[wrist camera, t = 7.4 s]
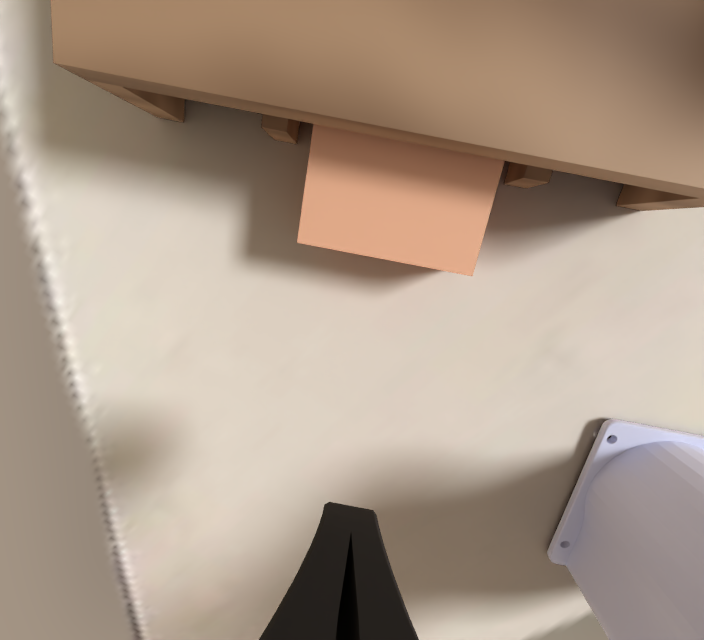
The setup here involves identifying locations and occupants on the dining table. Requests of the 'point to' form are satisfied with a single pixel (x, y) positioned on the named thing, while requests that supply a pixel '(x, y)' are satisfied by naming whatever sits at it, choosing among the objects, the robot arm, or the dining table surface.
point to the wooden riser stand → (427, 76)
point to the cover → (397, 199)
